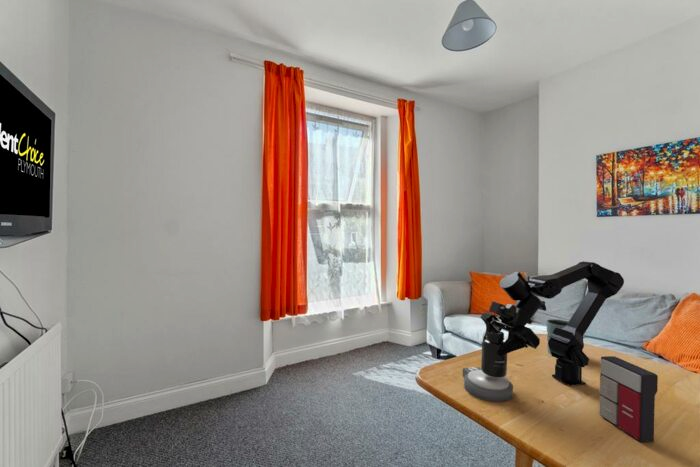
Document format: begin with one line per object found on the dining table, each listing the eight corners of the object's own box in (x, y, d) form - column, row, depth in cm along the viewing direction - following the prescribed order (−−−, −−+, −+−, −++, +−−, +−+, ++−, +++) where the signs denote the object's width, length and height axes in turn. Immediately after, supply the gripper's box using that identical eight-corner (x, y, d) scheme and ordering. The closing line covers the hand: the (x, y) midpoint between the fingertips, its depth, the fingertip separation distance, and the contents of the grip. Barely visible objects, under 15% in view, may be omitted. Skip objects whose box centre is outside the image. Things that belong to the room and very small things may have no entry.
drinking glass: (539, 349, 128) (540, 319, 128) (560, 348, 130) (561, 318, 130) (562, 359, 118) (562, 327, 118) (584, 357, 120) (584, 325, 120)
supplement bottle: (500, 380, 89) (501, 337, 89) (476, 372, 94) (477, 331, 94) (510, 373, 94) (511, 332, 94) (487, 366, 99) (488, 327, 99)
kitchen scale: (489, 374, 104) (489, 363, 104) (523, 400, 88) (523, 387, 88) (451, 376, 102) (451, 365, 102) (479, 403, 86) (479, 390, 86)
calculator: (596, 414, 82) (597, 355, 82) (612, 414, 82) (613, 355, 82) (638, 443, 71) (640, 375, 71) (656, 442, 71) (658, 374, 71)
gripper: (486, 287, 104) (455, 323, 101) (531, 298, 86) (495, 343, 83) (506, 310, 106) (476, 346, 103) (555, 326, 88) (520, 370, 85)
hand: (490, 350), depth 94 cm, fingers closed on supplement bottle, 7 cm apart
